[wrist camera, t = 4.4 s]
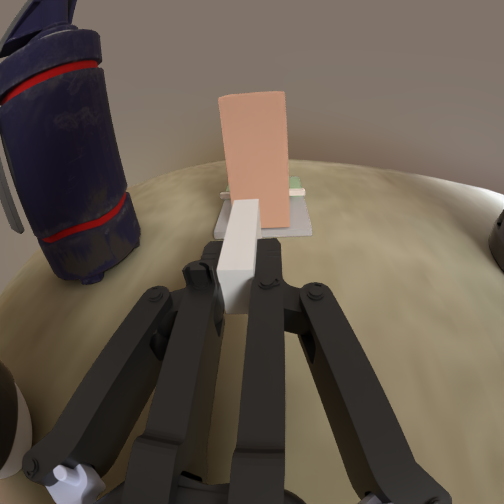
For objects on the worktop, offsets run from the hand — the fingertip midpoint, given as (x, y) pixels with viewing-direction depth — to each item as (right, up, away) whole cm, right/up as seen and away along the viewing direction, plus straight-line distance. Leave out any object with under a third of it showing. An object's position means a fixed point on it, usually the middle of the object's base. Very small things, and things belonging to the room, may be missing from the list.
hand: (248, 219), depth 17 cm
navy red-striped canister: (-18, -3, +11) cm, 21 cm away
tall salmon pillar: (+1, +2, +12) cm, 12 cm away
